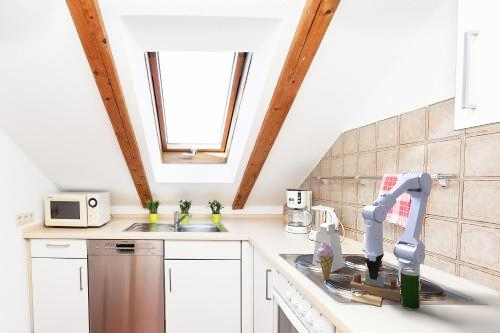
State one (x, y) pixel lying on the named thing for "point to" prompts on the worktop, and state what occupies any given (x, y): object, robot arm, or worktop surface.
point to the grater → (333, 240)
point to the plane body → (377, 288)
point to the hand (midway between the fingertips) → (374, 275)
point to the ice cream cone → (325, 259)
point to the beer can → (410, 288)
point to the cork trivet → (368, 299)
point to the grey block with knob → (375, 283)
